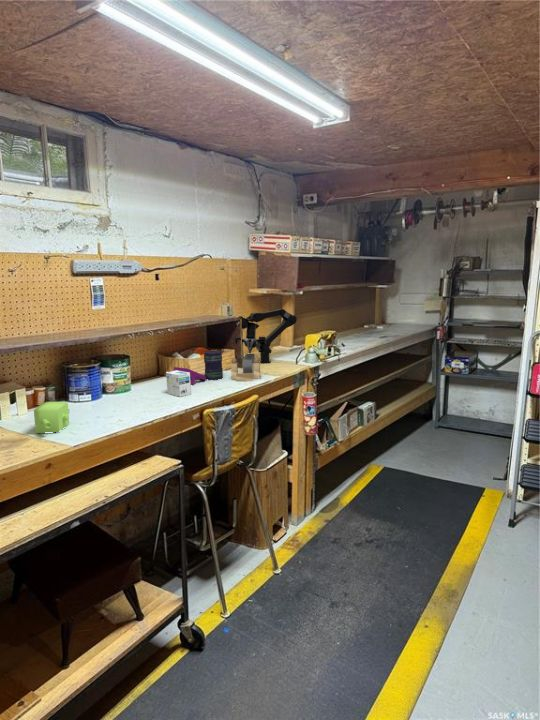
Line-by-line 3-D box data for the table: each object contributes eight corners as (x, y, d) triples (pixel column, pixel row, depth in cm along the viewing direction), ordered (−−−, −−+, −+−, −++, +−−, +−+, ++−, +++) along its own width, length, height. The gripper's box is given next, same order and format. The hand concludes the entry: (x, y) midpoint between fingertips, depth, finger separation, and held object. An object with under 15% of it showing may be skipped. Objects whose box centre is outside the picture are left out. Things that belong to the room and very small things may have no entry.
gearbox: (58, 438, 166) (57, 413, 164) (30, 438, 165) (28, 413, 164) (76, 422, 184) (74, 398, 182) (50, 422, 183) (48, 398, 181)
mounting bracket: (193, 390, 254) (169, 382, 240) (197, 375, 256) (174, 366, 242) (205, 392, 249) (182, 384, 234) (209, 377, 250) (187, 368, 236)
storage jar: (215, 381, 248) (214, 353, 246) (201, 379, 254) (199, 352, 251) (226, 377, 257) (225, 350, 254) (212, 376, 262) (211, 349, 259)
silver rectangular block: (246, 370, 275) (245, 353, 273) (255, 370, 274) (254, 353, 273) (243, 377, 255) (242, 359, 253) (252, 377, 255) (252, 359, 253)
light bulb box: (191, 394, 221) (190, 372, 220) (180, 397, 217) (178, 374, 215) (178, 391, 229) (176, 369, 227) (166, 394, 224) (165, 372, 222)
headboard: (232, 379, 252) (231, 357, 250) (260, 378, 251) (259, 357, 249) (230, 381, 247) (229, 359, 245) (259, 381, 245) (258, 359, 243)
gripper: (267, 338, 295) (266, 359, 287) (238, 339, 297) (236, 359, 289) (265, 328, 286) (264, 349, 277) (235, 328, 287) (233, 350, 279)
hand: (249, 352), depth 281 cm, fingers closed
